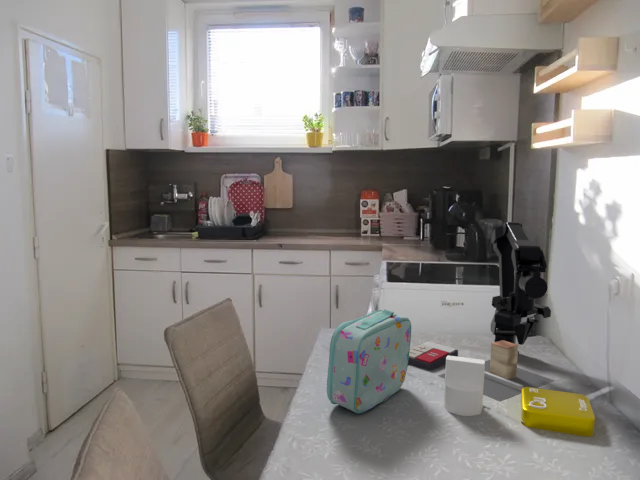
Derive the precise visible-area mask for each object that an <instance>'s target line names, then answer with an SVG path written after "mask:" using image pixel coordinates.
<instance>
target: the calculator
mask: <svg viewBox="0 0 640 480" xmlns="http://www.w3.org/2000/svg"><path fill="white" fill-rule="evenodd" d="M448 355H449V356H457V357H459V350H458V349H456V348H453V347H450V346H447V345H443V344H438V343H435V342H432V341H426V342H424V343H422V344H419V345H416V346H414V347H412V348H410V352H409V360H408V367H409V366H414V367H416V368H420V369H423V370H426V371H430V372H431V371H433V370H435V369H438V368H441V367H442V366H444V365H445V366H446V357H447V356H448Z"/></svg>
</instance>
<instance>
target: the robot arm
mask: <svg viewBox="0 0 640 480" xmlns="http://www.w3.org/2000/svg"><path fill="white" fill-rule="evenodd" d="M490 241H491V244H492V245H493V246H492V247H493V251H494V253H495V254H496V256H497V257H498V270H499V271H498V272H499V274H498V276H499V277H498V278H499V295H496V296H492V299H491V306H492V307H493V308H495V310H494V314H493V316H492V320H491V322H490V332H491V334H492V335H494V342H498V341H501V340H504V341H507V342H510V343H514V344H516V340H517V345H520V346H522V345H524V344H525V343H526V341H527V339H528V338H529V336H530V335H531V333H532V331H533V330H534V328H535V327H536V325H537V324H538V323H539V320H538V319H535V317H536V315H541V316H542V317H543V319H548V318H551V315H552V310H551V308H550V306H546V305H542V304H539V303H536V299H540V298H543V297H544V296H545V295H546V294H547V292H548V283H547V281H546V280H545V279H544V278H542V277H541V274H542V273H546V271H547V270H546V269H547V267H548V266H547V262H546V261H547V260H546V258H545V254H544V251H543V249H542V248H541V246H540V245H539V244H538V243H537V242H534V241H530V239H529V237H528V236H527V233H526V232H525V230H524V229H523V224H522V223H521V222H518V221H506V222H503V223H502V225H500V226H497V227H495V228H494V229H493V231H492V233H491V240H490ZM534 316H535V317H534ZM494 342H493V343H494ZM518 354H520V351H519V350H518Z"/></svg>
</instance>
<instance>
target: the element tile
mask: <svg viewBox="0 0 640 480" xmlns="http://www.w3.org/2000/svg"><path fill="white" fill-rule="evenodd" d="M520 410H521V411H520V412H521V413H520V414H521V415H520V416H521V424H522V425H523V426H524V427H527V428H530V429H535V430H542V431H547V432H548V431H549V432H555V433H560V434H565V435H566V434H567V435H572V436H573V435H574V436H580V437H585V438H586V437H587V438H588V437H593V436H594V435H595V427H596V426H595V423H596V417H595V413H594V410H593V408H592V405H591V401H590V399H589V397H588V396H587V395H585V394H582V393H575V392H567V391H561V390H553V389H546V388H540V387H537V388H532V387H524V388H522V391H521V394H520Z"/></svg>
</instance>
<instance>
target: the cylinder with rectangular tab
mask: <svg viewBox="0 0 640 480" xmlns="http://www.w3.org/2000/svg"><path fill="white" fill-rule="evenodd" d="M485 361H486V360H485V359H479V358H472V357H465V356H464V357H463V356H458V357H457V356H449V355H448V356H447V357H446V364H445V372H444V374H445V379H444V392H443V393H444V394H443V408H444V409H445V410H446V411H448V412H449V413H451V414H454V415H458V416H462V417H463V416H465V417H470V416H472V417H473V416H478V415H479V414H481V413H482V411H483V400H484V399H483V398H484V395H483V387H484V371H485Z"/></svg>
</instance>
